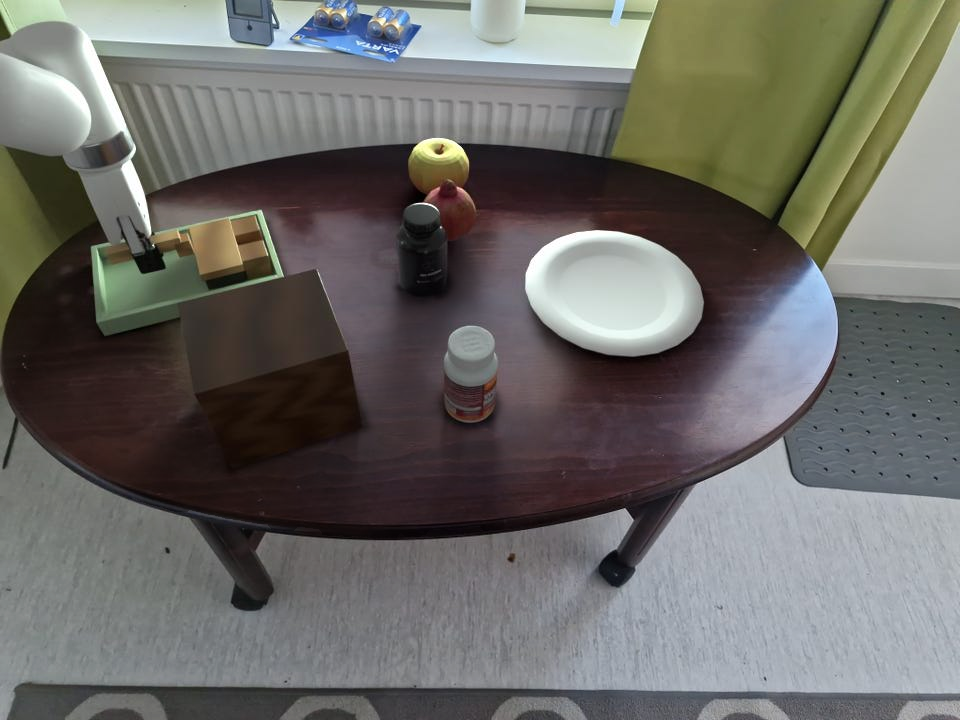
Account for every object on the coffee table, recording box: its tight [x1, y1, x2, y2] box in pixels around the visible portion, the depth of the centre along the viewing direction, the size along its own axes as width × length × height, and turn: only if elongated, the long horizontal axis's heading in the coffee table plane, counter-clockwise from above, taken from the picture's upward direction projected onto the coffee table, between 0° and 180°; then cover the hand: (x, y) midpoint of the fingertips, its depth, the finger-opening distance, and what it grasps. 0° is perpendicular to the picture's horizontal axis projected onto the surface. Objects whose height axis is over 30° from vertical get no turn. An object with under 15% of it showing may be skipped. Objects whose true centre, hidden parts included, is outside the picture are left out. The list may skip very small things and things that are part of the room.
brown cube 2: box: [231, 216, 262, 246], centre depth 94 cm, size 4×4×4 cm
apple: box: [407, 137, 470, 196], centre depth 103 cm, size 10×10×8 cm
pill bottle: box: [443, 325, 499, 424], centre depth 75 cm, size 6×6×11 cm
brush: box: [106, 218, 246, 290], centre depth 88 cm, size 16×11×6 cm
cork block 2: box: [238, 240, 273, 280], centre depth 90 cm, size 4×4×4 cm
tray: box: [90, 209, 284, 337], centre depth 90 cm, size 24×16×3 cm, turn 113°
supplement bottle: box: [395, 202, 449, 298], centre depth 87 cm, size 7×7×12 cm
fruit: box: [422, 180, 477, 242], centre depth 95 cm, size 8×8×10 cm
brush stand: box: [178, 268, 364, 469], centre depth 72 cm, size 15×13×14 cm
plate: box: [524, 229, 705, 358], centre depth 91 cm, size 25×25×2 cm
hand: (152, 263), depth 88 cm, fingers closed on brush
